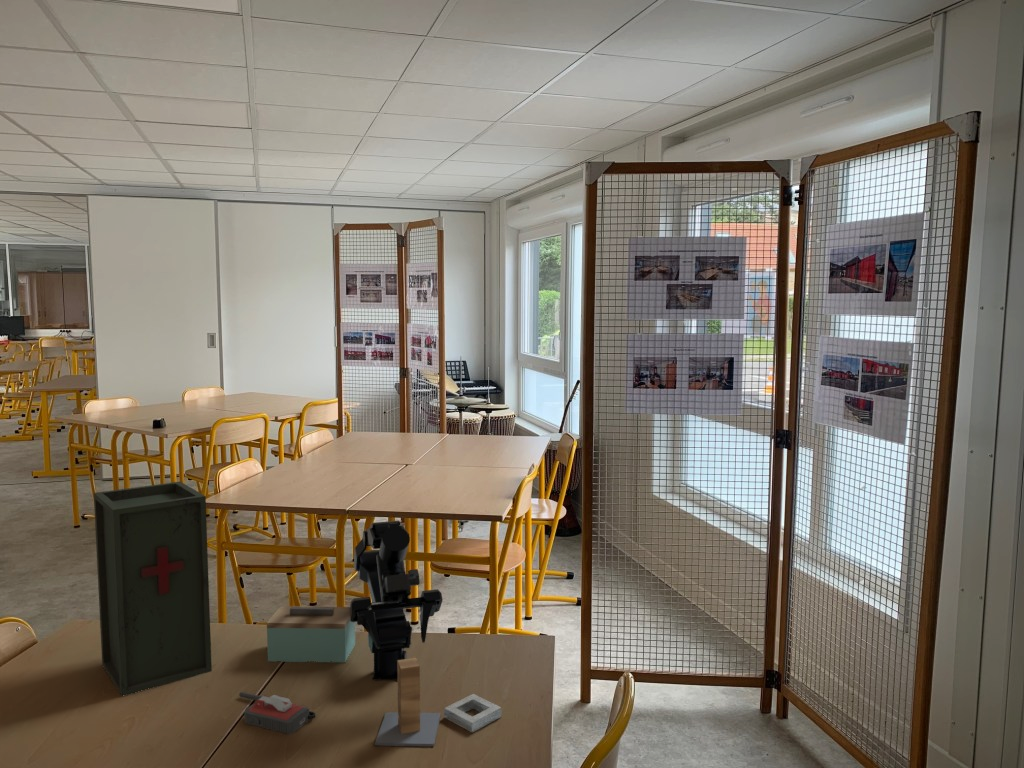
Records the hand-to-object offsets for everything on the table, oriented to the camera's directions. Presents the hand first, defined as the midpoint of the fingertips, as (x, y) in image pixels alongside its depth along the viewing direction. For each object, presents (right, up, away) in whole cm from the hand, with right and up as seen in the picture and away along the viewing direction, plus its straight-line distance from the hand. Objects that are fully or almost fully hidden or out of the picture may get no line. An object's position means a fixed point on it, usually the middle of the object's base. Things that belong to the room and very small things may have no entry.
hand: (401, 644), depth 156 cm
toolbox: (-25, -11, +27) cm, 38 cm away
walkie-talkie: (-27, -14, -1) cm, 30 cm away
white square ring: (+14, -14, -2) cm, 20 cm away
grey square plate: (+2, -14, -6) cm, 16 cm away
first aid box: (-58, -12, +19) cm, 62 cm away
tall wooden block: (+2, -14, -6) cm, 15 cm away
